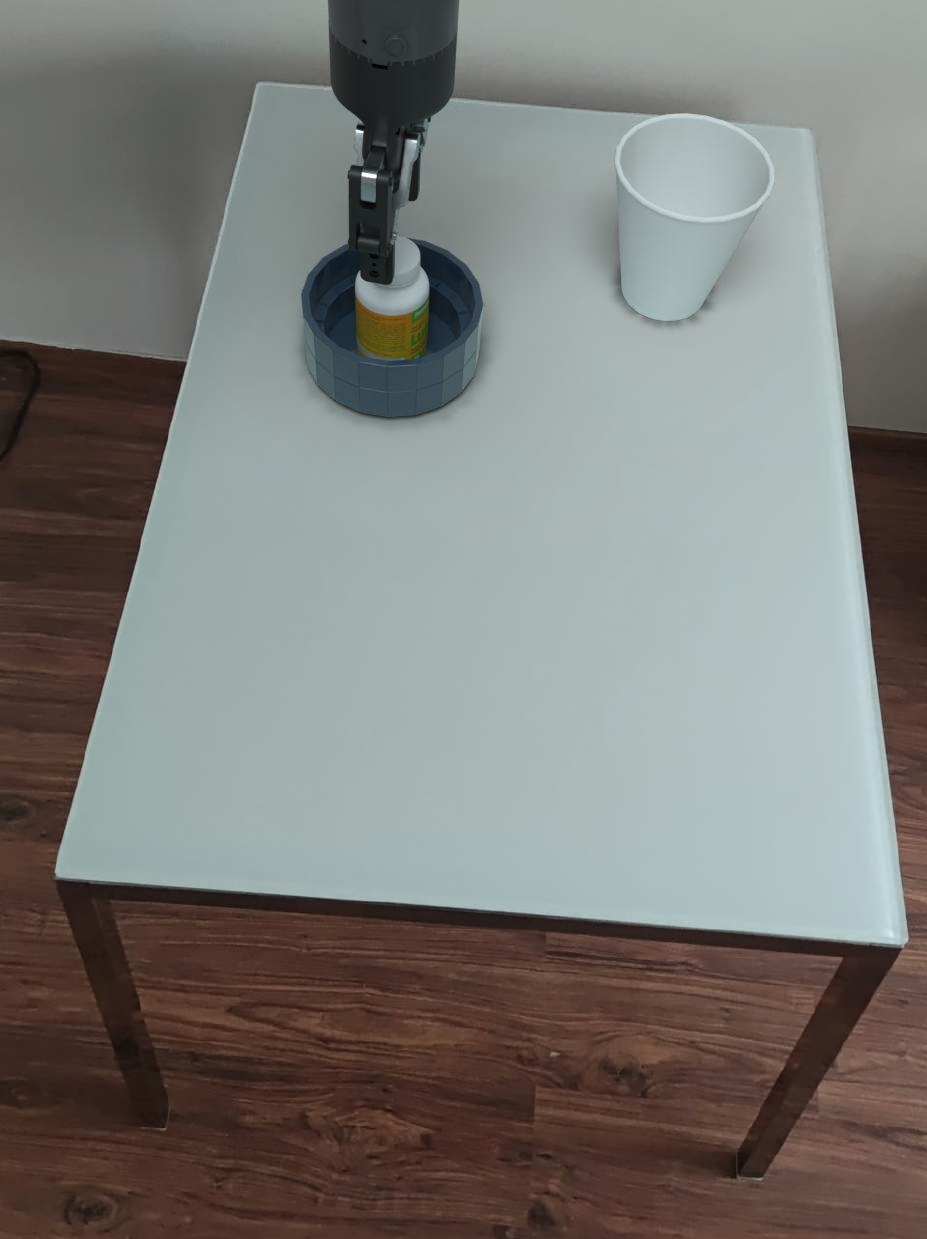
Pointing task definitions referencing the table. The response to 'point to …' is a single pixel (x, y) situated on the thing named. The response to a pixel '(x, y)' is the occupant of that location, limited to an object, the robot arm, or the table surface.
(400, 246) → the supplement bottle
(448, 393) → the bowl
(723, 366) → the table surface
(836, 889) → the table surface
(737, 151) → the cup
